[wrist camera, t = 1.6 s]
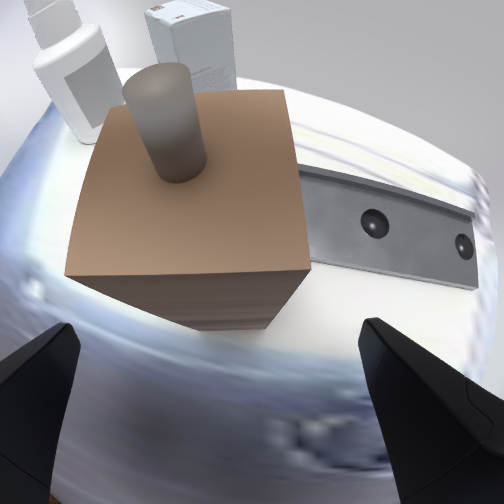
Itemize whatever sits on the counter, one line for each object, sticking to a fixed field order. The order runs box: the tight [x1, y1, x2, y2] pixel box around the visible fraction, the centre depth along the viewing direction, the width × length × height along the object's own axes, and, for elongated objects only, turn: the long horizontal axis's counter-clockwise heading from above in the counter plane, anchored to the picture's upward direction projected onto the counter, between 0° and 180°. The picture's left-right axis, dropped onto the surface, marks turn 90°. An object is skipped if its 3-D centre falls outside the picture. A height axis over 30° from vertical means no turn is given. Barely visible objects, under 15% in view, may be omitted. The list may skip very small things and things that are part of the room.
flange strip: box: [297, 164, 478, 290], centre depth 19 cm, size 22×7×1 cm, turn 79°
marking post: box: [64, 62, 311, 331], centre depth 11 cm, size 4×4×16 cm
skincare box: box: [144, 0, 237, 93], centre depth 18 cm, size 6×4×12 cm
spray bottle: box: [24, 0, 126, 144], centre depth 16 cm, size 7×7×18 cm
